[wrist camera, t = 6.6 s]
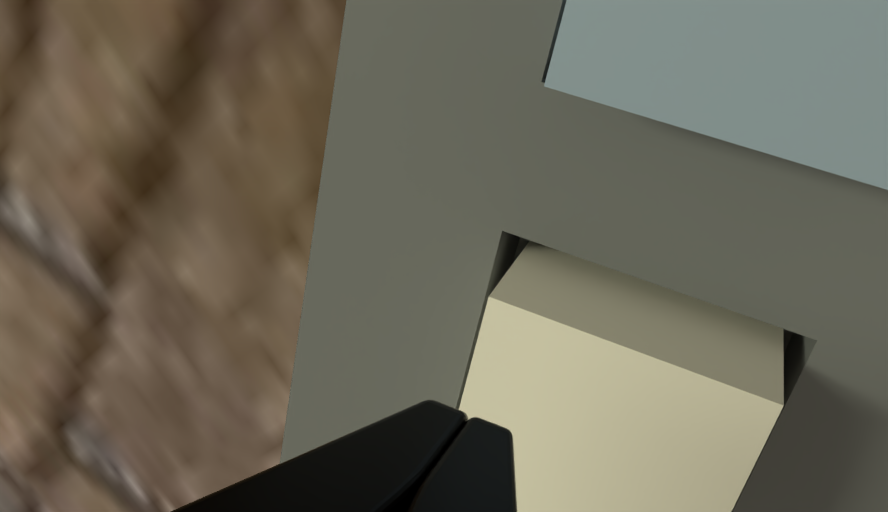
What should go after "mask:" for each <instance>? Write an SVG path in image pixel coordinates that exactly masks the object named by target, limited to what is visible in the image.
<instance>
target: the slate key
mask: <svg viewBox="0 0 888 512" xmlns="http://www.w3.org/2000/svg"><path fill="white" fill-rule="evenodd" d="M544 87H548V88H551V89H554V90H558V91H561V92H564V93H568V94H571V95H574V96H578V97H581V98H584V99H588V100H591V101H594V102H598V103H601V104H604V105H608V106H611V107H614V108H617V109H621V110H624V111H627V112H631V113H634V114H637V115H641V116H644V117H647V118H651V119H654V120H657V121H661V122H664V123H667V124H671V125H674V126H677V127H681V128H684V129H687V130H691V131H694V132H697V133H700V134H704V135H707V136H710V137H714V138H717V139H720V140H724V141H727V142H730V143H734V144H737V145H740V146H744V147H747V148H750V149H754V150H757V151H760V152H764V153H767V154H770V155H774V156H777V157H780V158H783V159H787V160H790V161H793V162H797V163H800V164H803V165H807V166H810V167H813V168H817V169H820V170H823V171H827V172H830V173H833V174H837V175H840V176H843V177H847V178H850V179H853V180H856V181H860V182H863V183H866V184H870V185H873V186H876V187H880V188H883V189H886V190H888V0H567V1H566V5H565V8H564V12H563V16H562V20H561V23H560V27H559V31H558V35H557V39H556V42H555V46H554V50H553V54H552V58H551V61H550V65H549V69H548V73H547V76H546V80H545V84H544Z"/></svg>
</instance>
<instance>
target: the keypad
mask: <svg viewBox="0 0 888 512" xmlns="http://www.w3.org/2000/svg"><path fill="white" fill-rule="evenodd" d="M566 1H567V0H346V7H345V14H344V21H343V28H342V35H341V42H340V49H339V56H338V63H337V70H336V77H335V84H334V91H333V98H332V105H331V112H330V118H329V125H328V132H327V139H326V146H325V153H324V160H323V167H322V174H321V181H320V188H319V195H318V202H317V209H316V216H315V223H314V230H313V237H312V243H311V250H310V257H309V264H308V271H307V278H306V285H305V292H304V299H303V306H302V313H301V320H300V327H299V334H298V341H297V348H296V355H295V362H294V368H293V375H292V382H291V389H290V396H289V403H288V410H287V417H286V424H285V431H284V438H283V445H282V452H281V459H280V464H281V463H283V462H285V461H287V460H290V459H292V458H294V457H297V456H299V455H301V454H303V453H306V452H308V451H310V450H313V449H315V448H317V447H319V446H322V445H324V444H326V443H329V442H331V441H333V440H335V439H338V438H340V437H342V436H345V435H347V434H349V433H351V432H354V431H356V430H358V429H361V428H363V427H365V426H367V425H370V424H372V423H374V422H377V421H379V420H381V419H383V418H386V417H388V416H390V415H393V414H395V413H397V412H399V411H402V410H404V409H406V408H409V407H411V406H413V405H415V404H418V403H420V402H422V401H425V400H435V401H438V402H440V403H443V404H445V405H448V406H451V407H453V408H456V409H458V410H459V407H460V403H461V399H462V395H463V392H464V388H465V384H466V380H467V376H468V373H469V369H470V365H471V361H472V358H473V354H474V350H475V346H476V342H477V339H478V335H479V331H480V327H481V324H482V320H483V316H484V312H485V308H486V305H487V301H488V297H489V295H490V294H491V293H492V291H493V290H494V289H495V287H496V286H497V285H498V283H499V282H500V280H501V279H502V278H503V276H504V275H505V274H506V272H507V271H508V270H509V268H510V267H511V266H512V264H513V263H514V261H515V260H516V259H517V257H518V256H519V255H520V253H521V252H522V251H523V249H524V248H525V247H526V245H527V244H528V242H529V241H533V242H536V243H539V244H542V245H544V246H547V247H550V248H553V249H556V250H559V251H562V252H565V253H567V254H570V255H573V256H576V257H579V258H582V259H585V260H587V261H590V262H593V263H596V264H599V265H602V266H605V267H608V268H610V269H613V270H616V271H619V272H622V273H625V274H628V275H631V276H633V277H636V278H639V279H642V280H645V281H648V282H651V283H654V284H656V285H659V286H662V287H665V288H668V289H671V290H674V291H676V292H679V293H682V294H685V295H688V296H691V297H694V298H697V299H699V300H702V301H705V302H708V303H711V304H714V305H717V306H720V307H722V308H725V309H728V310H731V311H734V312H737V313H740V314H742V315H745V316H748V317H751V318H754V319H757V320H760V321H763V322H765V323H768V324H771V325H774V326H777V327H780V328H783V349H784V406H783V408H782V410H781V412H780V414H779V416H778V418H777V420H776V422H775V424H774V426H773V428H772V430H771V432H770V434H769V436H768V439H767V441H766V443H765V445H764V447H763V449H762V451H761V453H760V455H759V457H758V459H757V461H756V463H755V465H754V467H753V469H752V471H751V473H750V475H749V477H748V479H747V481H746V483H745V485H744V487H743V489H742V491H741V493H740V495H739V497H738V499H737V501H736V503H735V505H734V508H733V510H732V512H888V190H886V189H883V188H880V187H876V186H873V185H870V184H866V183H863V182H860V181H856V180H853V179H850V178H847V177H843V176H840V175H837V174H833V173H830V172H827V171H823V170H820V169H817V168H813V167H810V166H807V165H803V164H800V163H797V162H793V161H790V160H787V159H783V158H780V157H777V156H774V155H770V154H767V153H764V152H760V151H757V150H754V149H750V148H747V147H744V146H740V145H737V144H734V143H730V142H727V141H724V140H720V139H717V138H714V137H710V136H707V135H704V134H700V133H697V132H694V131H691V130H687V129H684V128H681V127H677V126H674V125H671V124H667V123H664V122H661V121H657V120H654V119H651V118H647V117H644V116H641V115H637V114H634V113H631V112H627V111H624V110H621V109H617V108H614V107H611V106H608V105H604V104H601V103H598V102H594V101H591V100H588V99H584V98H581V97H578V96H574V95H571V94H568V93H564V92H561V91H558V90H554V89H551V88H548V87H544V84H545V80H546V76H547V73H548V69H549V65H550V61H551V58H552V54H553V50H554V46H555V42H556V39H557V35H558V31H559V27H560V23H561V20H562V16H563V12H564V8H565V5H566Z"/></svg>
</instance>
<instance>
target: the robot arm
mask: <svg viewBox="0 0 888 512" xmlns="http://www.w3.org/2000/svg"><path fill="white" fill-rule="evenodd" d="M171 512H517V497H516V480H515V462H514V445H513V435H512V433H511V431H510V430H509V429H507V428H505V427H502V426H500V425H497V424H494V423H492V422H489V421H487V420H484V419H481V418H479V417H473V418H470V419H469V420H468V416H467V414H466V413H465V412H463V411H461V410H458V409H456V408H453V407H451V406H448V405H445V404H443V403H440V402H438V401H435V400H425V401H422V402H420V403H418V404H415V405H413V406H411V407H409V408H406V409H404V410H402V411H399V412H397V413H395V414H393V415H390V416H388V417H386V418H383V419H381V420H379V421H377V422H374V423H372V424H370V425H367V426H365V427H363V428H361V429H358V430H356V431H354V432H351V433H349V434H347V435H345V436H342V437H340V438H338V439H335V440H333V441H331V442H329V443H326V444H324V445H322V446H319V447H317V448H315V449H313V450H310V451H308V452H306V453H303V454H301V455H299V456H297V457H294V458H292V459H290V460H287V461H285V462H283V463H281V464H278V465H276V466H274V467H272V468H269V469H267V470H265V471H262V472H260V473H258V474H256V475H253V476H251V477H249V478H246V479H244V480H242V481H240V482H237V483H235V484H233V485H230V486H228V487H226V488H224V489H221V490H219V491H217V492H214V493H212V494H210V495H208V496H205V497H203V498H201V499H198V500H196V501H194V502H192V503H189V504H187V505H185V506H182V507H180V508H178V509H176V510H173V511H171Z"/></svg>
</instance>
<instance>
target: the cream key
mask: <svg viewBox="0 0 888 512" xmlns="http://www.w3.org/2000/svg"><path fill="white" fill-rule="evenodd" d="M783 406H784V349H783V328H780V327H777V326H774V325H771V324H768V323H765V322H763V321H760V320H757V319H754V318H751V317H748V316H745V315H742V314H740V313H737V312H734V311H731V310H728V309H725V308H722V307H720V306H717V305H714V304H711V303H708V302H705V301H702V300H699V299H697V298H694V297H691V296H688V295H685V294H682V293H679V292H676V291H674V290H671V289H668V288H665V287H662V286H659V285H656V284H654V283H651V282H648V281H645V280H642V279H639V278H636V277H633V276H631V275H628V274H625V273H622V272H619V271H616V270H613V269H610V268H608V267H605V266H602V265H599V264H596V263H593V262H590V261H587V260H585V259H582V258H579V257H576V256H573V255H570V254H567V253H565V252H562V251H559V250H556V249H553V248H550V247H547V246H544V245H542V244H539V243H536V242H533V241H529V242H528V244H527V245H526V247H525V248H524V249H523V251H522V252H521V253H520V255H519V256H518V257H517V259H516V260H515V261H514V263H513V264H512V266H511V267H510V268H509V270H508V271H507V272H506V274H505V275H504V276H503V278H502V279H501V280H500V282H499V283H498V285H497V286H496V287H495V289H494V290H493V291H492V293H491V294H490V295H489V297H488V301H487V305H486V308H485V312H484V316H483V320H482V324H481V327H480V331H479V335H478V339H477V342H476V346H475V350H474V354H473V358H472V361H471V365H470V369H469V373H468V376H467V380H466V384H465V388H464V392H463V395H462V399H461V403H460V407H459V410H461V411H463V412H465V413H466V414H467V416H468V420H469V419H470V418H473V417H479V418H481V419H484V420H487V421H489V422H492V423H494V424H497V425H500V426H502V427H505V428H507V429H509V430H510V431H511V433H512V435H513V445H514V462H515V480H516V497H517V512H732V510H733V508H734V505H735V503H736V501H737V499H738V497H739V495H740V493H741V491H742V489H743V487H744V485H745V483H746V481H747V479H748V477H749V475H750V473H751V471H752V469H753V467H754V465H755V463H756V461H757V459H758V457H759V455H760V453H761V451H762V449H763V447H764V445H765V443H766V441H767V439H768V436H769V434H770V432H771V430H772V428H773V426H774V424H775V422H776V420H777V418H778V416H779V414H780V412H781V410H782V408H783Z"/></svg>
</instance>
